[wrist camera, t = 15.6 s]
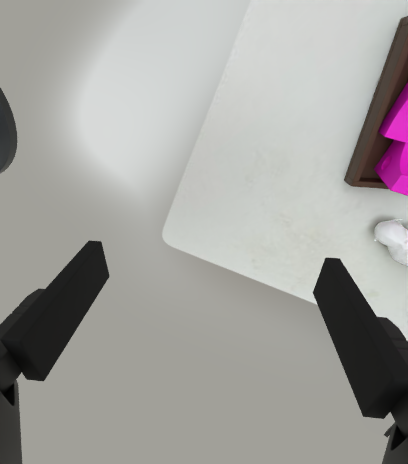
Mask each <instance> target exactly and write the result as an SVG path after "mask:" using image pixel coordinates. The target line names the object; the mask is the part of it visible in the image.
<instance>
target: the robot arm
mask: <svg viewBox="0 0 408 464" xmlns="http://www.w3.org/2000/svg"><path fill="white" fill-rule="evenodd" d="M108 278H109V272H108V268H107V264H106V260H105V255H104V251H103V247H102V243H101V242H100V241H88V242H87V243H86V244H85V246H84V247H83V248H82V249H81V250H80V251H79V252H78V253H77V254H76V256H75V257H74V258H73V259H72V260H71V261H70V262H69V263H68V264H67V266H66V267H65V268H64V269H63V270H62V271H61V272H60V273H59V274H58V276H57V277H56V278H55V279H54V280H53V281H52V283H50V284H49V286H48V287H47V288H46V289H38V290H36V291H35V292H33V293H31V294H30V295H29V296H27V297H26V298H25V299H24V300H23V301H22V302H21V303H20V305H19V306H18V307H17V308H16V309H15V310H14V311H13V313H12V314H10V315H9V316H8V317H7V318H6V319H5V320H4V321H3V323H1V324H0V464H22V452H21V432H20V412H19V393H18V383H17V380H16V379H17V378H18V376H19V375H20V374H21V372H22V373H23V375H24V376H25V378H26V379H27V380H37V381H44V380H45V379H46V377H47V375H48V374H49V372H50V370H51V369H52V367H53V366H54V364H55V362H56V361H57V359H58V357H59V356H60V355H61V353H62V351H63V350H64V348H65V347H66V345H67V343H68V342H69V340H70V339H71V337H72V335H73V334H74V332H75V331H76V329H77V327H78V326H79V324H80V323H81V321H82V319H83V318H84V316H85V315H86V313H87V311H88V310H89V308H90V307H91V305H92V303H93V302H94V300H95V299H96V297H97V295H98V294H99V292H100V291H101V289H102V287H103V286H104V284H105V283H106V281H107V279H108ZM313 294H314V297H315V299H316V301H317V304H318V306H319V309H320V311H321V314H322V316H323V318H324V321H325V323H326V326H327V329H328V331H329V333H330V336H331V338H332V341H333V343H334V345H335V348H336V351H337V353H338V355H339V358H340V361H341V363H342V365H343V367H344V370H345V373H346V375H347V378H348V380H349V383H350V385H351V388H352V390H353V393H354V395H355V397H356V400H357V402H358V405H359V407H360V410H361V412H362V415H363V417H372V418H382V419H384V418H385V417H386V415H388V413H389V412H391V414H392V416H393V418H394V420H395V423H394V424H393V425H392V426H391V427H390V428H389V429H388V430H387V431H386V433H385V434H384V435H385V436H386V437H388V436H389V435H390V437H389V441H388V444H387V448H386V451H385V455H384V458H383V462H382V464H408V341H406V338H405V337H404V335H403V334H402V332H401V331H400V330H399V328H398V327H397V326H396V325H394V324H393V323H392V322H391V321H390V320H389V319H388V318H383V317H377V316H376V315H375V313H374V312H373V310H372V309H371V307H370V305H369V304H368V302H367V301H366V299H365V298H364V296H363V294H362V293H361V291H360V290H359V288H358V287H357V285H356V284H355V282H354V280H353V279H352V277H351V276H350V274H349V273H348V271H347V269H346V268H345V266H344V265H343V263H342V262H341V260H340V259H338V258H325V261H324V264H323V266H322V269H321V272H320V275H319V277H318V280H317V283H316V286H315V288H314V291H313Z"/></svg>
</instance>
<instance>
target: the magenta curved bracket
mask: <svg viewBox="0 0 408 464" xmlns="http://www.w3.org/2000/svg"><path fill="white" fill-rule="evenodd" d="M378 132H379V133H381V134H382V135H383V136H385V137H388V138H391V139H394V141H393V142H392V143H391V145H390V146H389V148H388V149H387V151H386V152H385V154H384V155H383V157H382V158H381V160H380V161H379V162H378V164H377V165H376V167H375V168H374V170H375V171H376V173H377V174H378V175H379V177H380V178H381V179H382V180H383V182H384V183H385V184H386V186H387V187H388V188H389V189H390V190H392V191H395V192H398V193H401V194H404V195H407V196H408V82H407V84H406V85H405V87H404V89H403V90H402V92H401V93H400V95H399V97H398V98H397V100H396V101H395V103H394V105H393V106H392V108H391V109H390V111H389V113H388V114H387V116H386V117H385V119H384V120H383V122H382V124H381V125H380V128H379V130H378Z"/></svg>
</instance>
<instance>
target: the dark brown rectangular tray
mask: <svg viewBox="0 0 408 464" xmlns="http://www.w3.org/2000/svg"><path fill="white" fill-rule="evenodd" d="M407 82H408V16H407V17H404V18H402V19H401V20H400V23H399V26H398V29H397V31H396V34H395V37H394V40H393V43H392V46H391V49H390V51H389V54H388V57H387V60H386V63H385V66H384V68H383V71H382V74H381V77H380V80H379V83H378V85H377V88H376V91H375V94H374V97H373V100H372V102H371V105H370V108H369V111H368V114H367V117H366V120H365V122H364V125H363V128H362V131H361V134H360V137H359V139H358V142H357V145H356V148H355V151H354V154H353V156H352V159H351V162H350V165H349V168H348V171H347V173H346V176H345V179H344V181H346V182H347V183H348V184H349V185H350V186H355V187H369V188H383V189H389V188H388V187H387V186H386V184H385V183H384V182H383V180H382V179H381V178H380V177H379V175H378V174H377V173H376V171H375V170H374V168H375V167H376V165H377V164H378V162H379V161H380V160H381V158H382V157H383V155H384V154H385V152H386V151H387V149H388V148H389V146H390V145H391V143H392V142H393V141H394V139H391V138H388V137H385V136H383V135H382V134H381V133H379V132H378V130H379V128H380V125H381V124H382V122H383V120H384V119H385V117H386V116H387V114H388V113H389V111H390V109H391V108H392V106H393V105H394V103H395V101H396V100H397V98H398V97H399V95H400V93H401V92H402V90H403V89H404V87H405V85H406V84H407Z"/></svg>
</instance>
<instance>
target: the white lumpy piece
mask: <svg viewBox="0 0 408 464" xmlns="http://www.w3.org/2000/svg"><path fill="white" fill-rule="evenodd" d="M400 220H402V219H398V220H395V219H393V220H389V221H384V222H380V223H378V224H377V226H376V227H375V233H374V234H375V241H377V240H378V241H379V242H381V243H382V244H384V245H387V246H388V250H389V252H390V255H391V256H392V258H393V259H394V260H395V261H398V262H400V263H401V264H402V265H403V264H405V265H407V266H408V229H405V228H404V227H403V226H402V225H401V224H400V223H398V222H395V221H400Z"/></svg>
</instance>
